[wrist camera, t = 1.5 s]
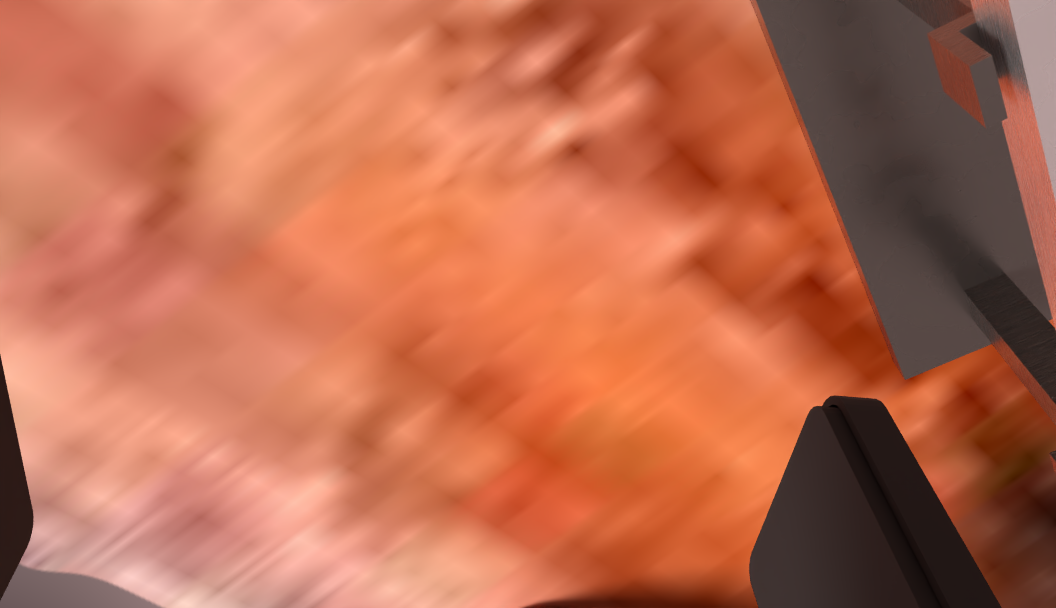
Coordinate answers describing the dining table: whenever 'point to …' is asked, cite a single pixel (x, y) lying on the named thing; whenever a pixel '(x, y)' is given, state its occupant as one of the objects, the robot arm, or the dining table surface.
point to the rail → (1028, 111)
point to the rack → (919, 177)
